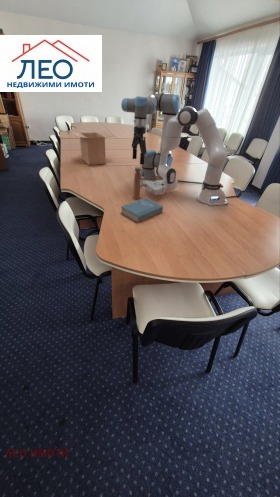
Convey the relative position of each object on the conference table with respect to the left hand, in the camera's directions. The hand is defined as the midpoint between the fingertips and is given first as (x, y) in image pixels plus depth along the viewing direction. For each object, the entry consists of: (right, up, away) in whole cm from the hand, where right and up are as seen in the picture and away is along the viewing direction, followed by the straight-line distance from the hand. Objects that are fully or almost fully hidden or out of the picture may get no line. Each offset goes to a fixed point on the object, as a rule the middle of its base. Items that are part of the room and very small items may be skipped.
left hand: (138, 161), depth 151 cm
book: (+3, -36, -4) cm, 36 cm away
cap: (0, -4, +3) cm, 5 cm away
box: (-49, +34, +86) cm, 104 cm away
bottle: (-1, -21, +16) cm, 27 cm away
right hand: (+4, -15, +14) cm, 20 cm away
